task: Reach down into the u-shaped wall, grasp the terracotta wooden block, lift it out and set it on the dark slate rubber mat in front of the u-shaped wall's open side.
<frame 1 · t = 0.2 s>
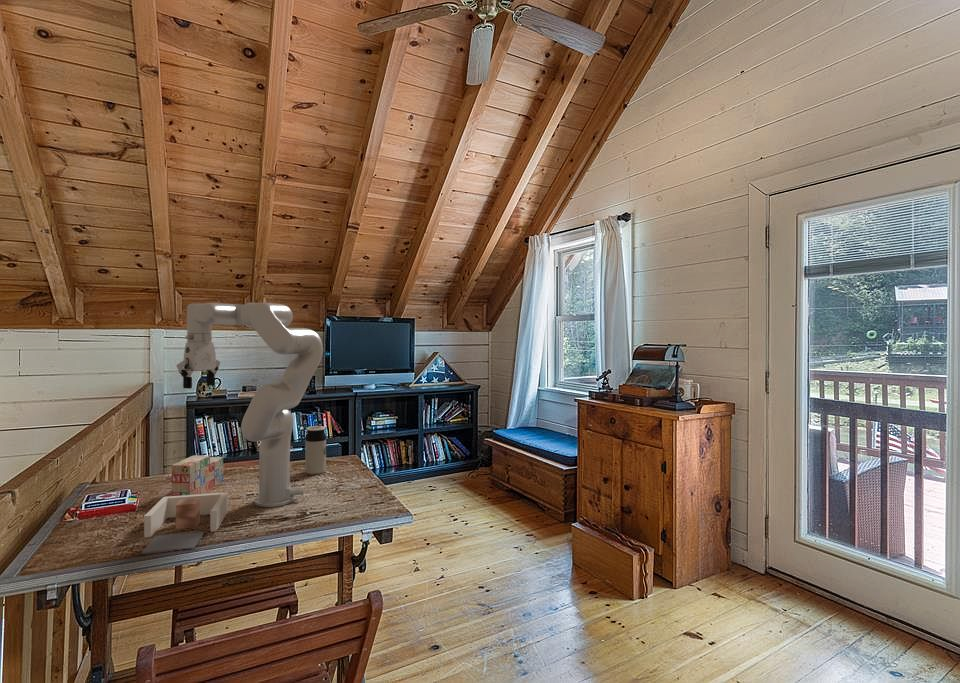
hand: (199, 386, 174), 37 cm above the table, tool pointing down, fingers open, 9 cm apart
travel mug: (315, 472, 200), on the table
figurine: (284, 471, 200), on the table
block: (188, 524, 145), on the table
u-shaped wall: (189, 523, 146), on the table
stack of blocks: (199, 491, 175), on the table
mat: (174, 543, 133), on the table
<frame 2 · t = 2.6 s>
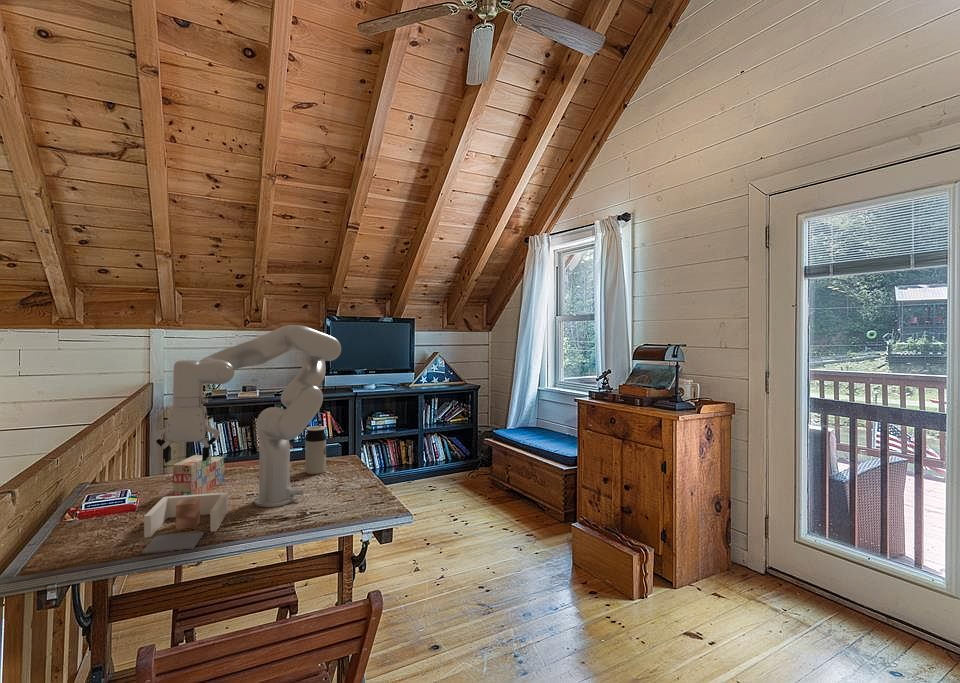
hand: (186, 460, 144), 19 cm above the table, tool pointing down, fingers open, 9 cm apart
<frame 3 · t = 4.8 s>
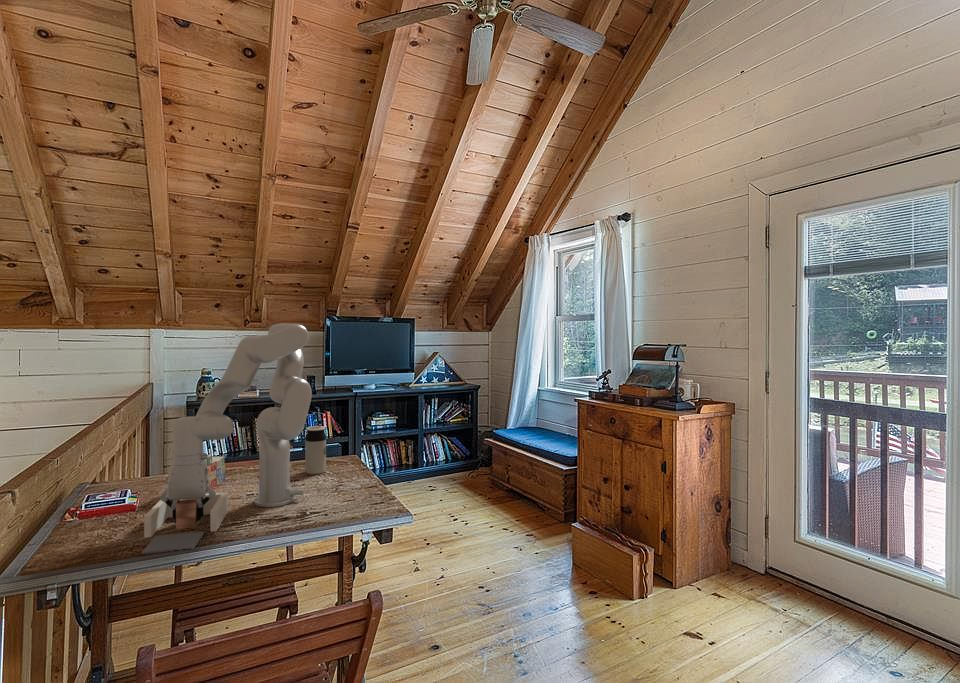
hand: (188, 519, 145), 1 cm above the table, tool pointing down, fingers closed on block, 5 cm apart
block: (188, 524, 145), on the table, touching gripper
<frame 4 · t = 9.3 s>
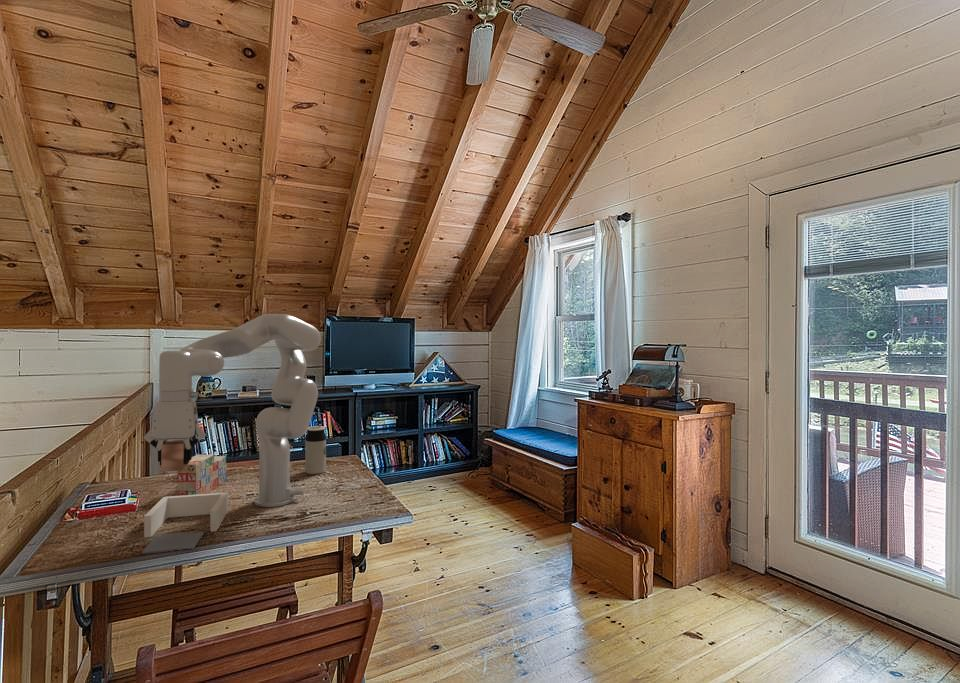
hand: (175, 462, 133), 22 cm above the table, tool pointing down, fingers closed on block, 4 cm apart
block: (175, 468, 133), point 20 cm above the table, touching gripper
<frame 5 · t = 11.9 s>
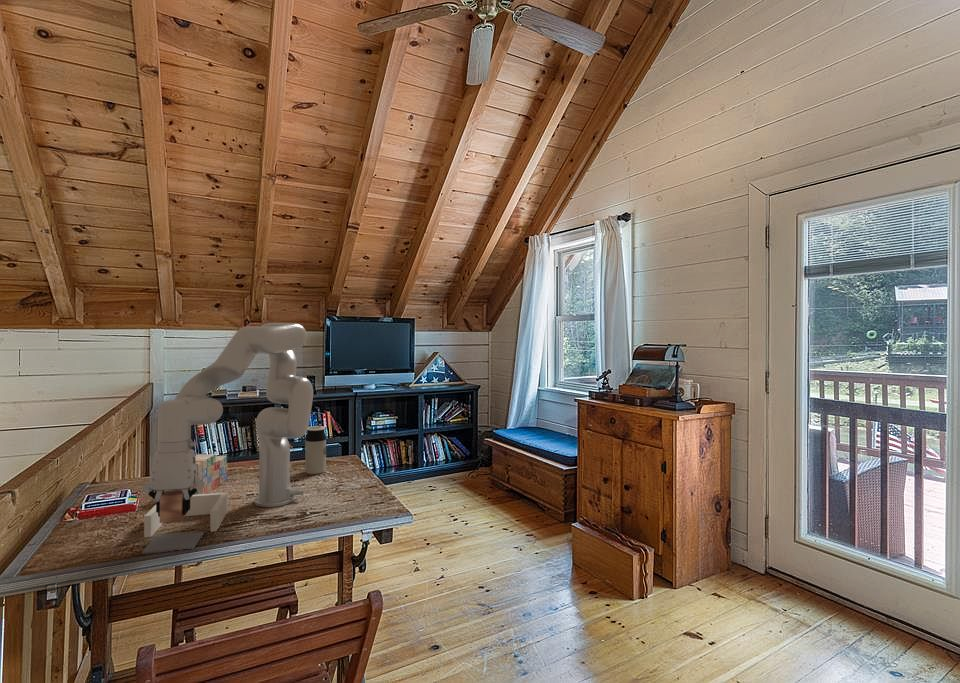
hand: (173, 513, 132), 8 cm above the table, tool pointing down, fingers closed on block, 4 cm apart
block: (173, 518, 132), point 7 cm above the table, touching gripper
when the fingers open (3 cm above the table, at t = 13.9 s): block stays where it is, resting on mat.
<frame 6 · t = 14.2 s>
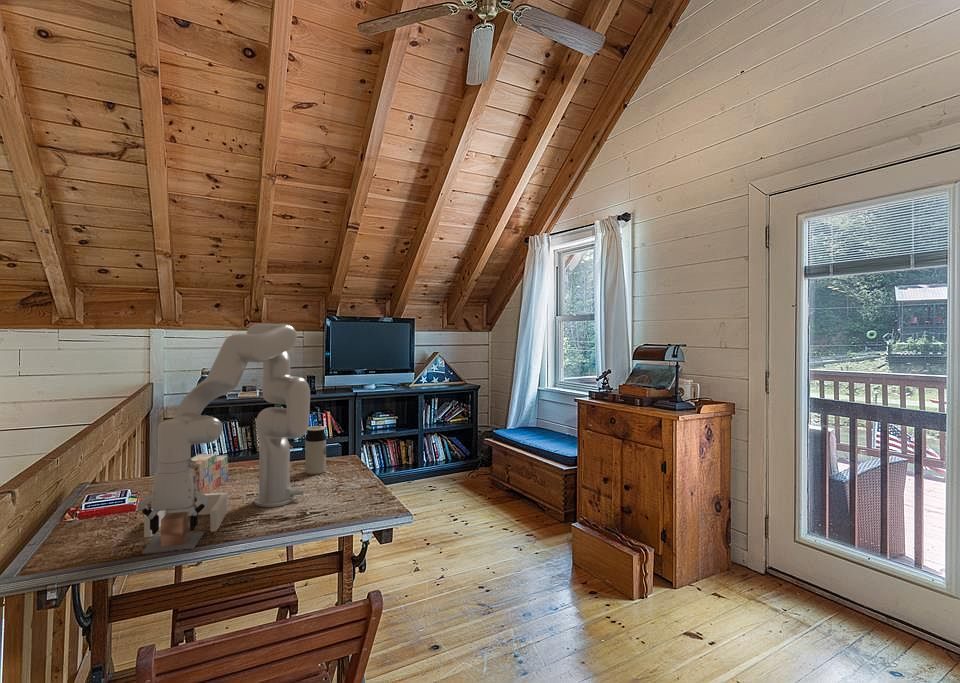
hand: (174, 530, 132), 4 cm above the table, tool pointing down, fingers open, 8 cm apart
block: (174, 541, 133), resting on mat
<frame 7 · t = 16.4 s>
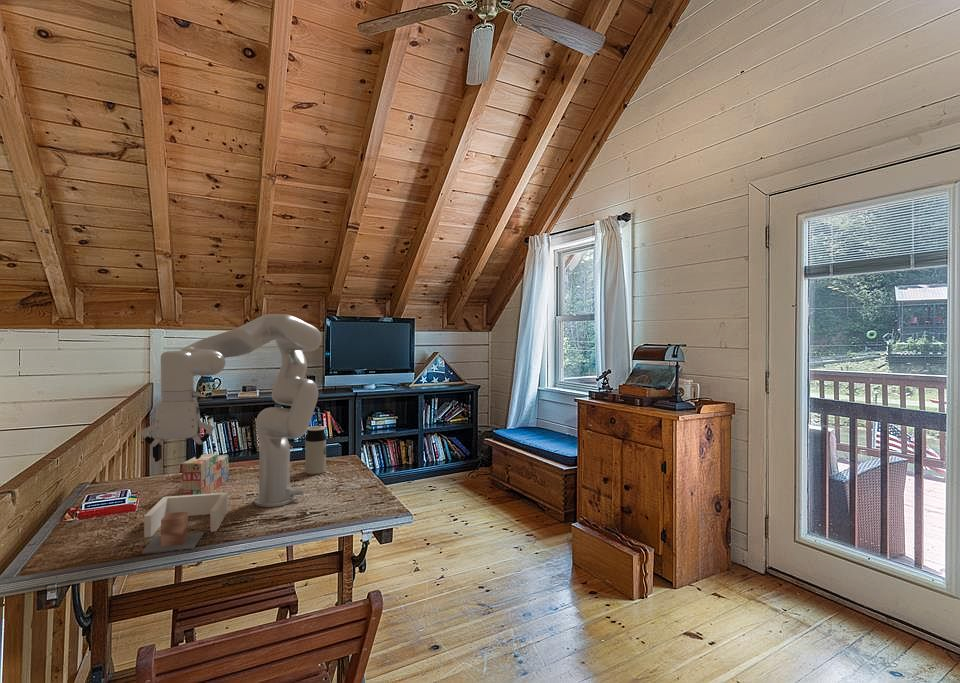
hand: (178, 459, 134), 22 cm above the table, tool pointing down, fingers open, 9 cm apart
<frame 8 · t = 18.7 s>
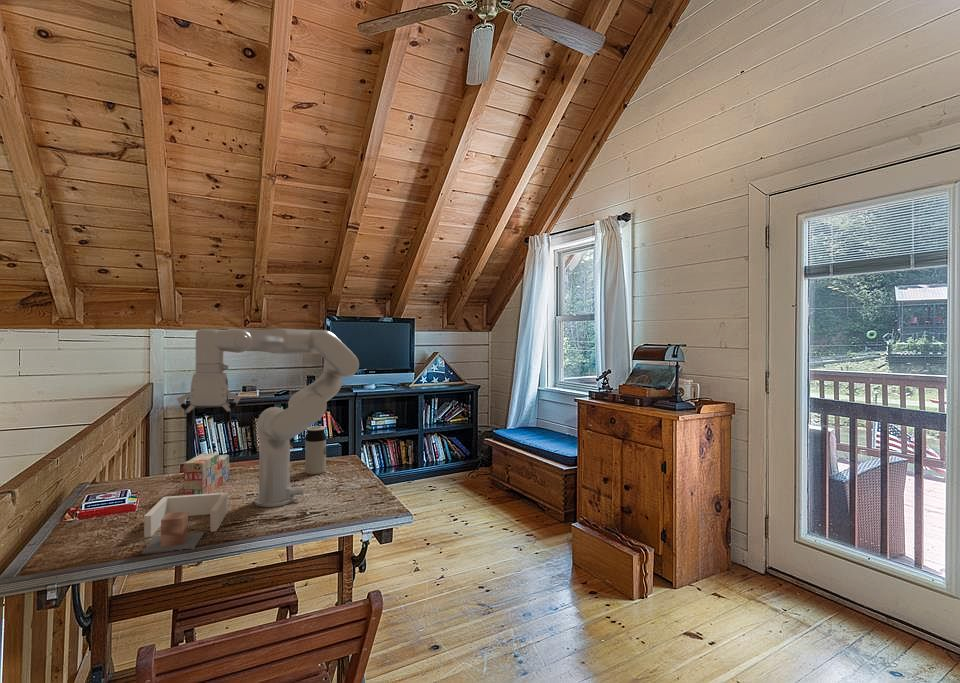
hand: (209, 424, 152), 28 cm above the table, tool pointing down, fingers open, 9 cm apart
at the end: block inside the target area on the mat (0.1 cm from its centre), point 0.5 cm above the mat's base; block tilted 0°; the gripper is holding nothing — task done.
